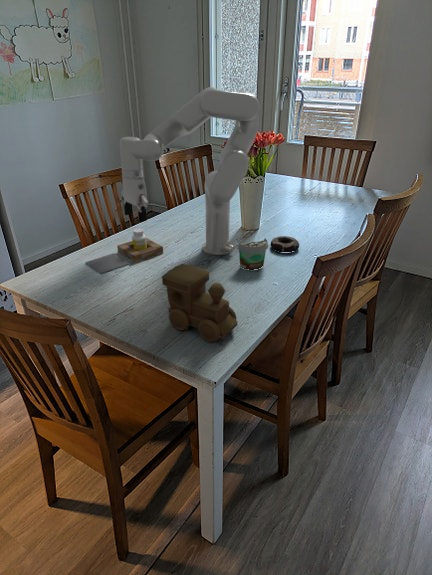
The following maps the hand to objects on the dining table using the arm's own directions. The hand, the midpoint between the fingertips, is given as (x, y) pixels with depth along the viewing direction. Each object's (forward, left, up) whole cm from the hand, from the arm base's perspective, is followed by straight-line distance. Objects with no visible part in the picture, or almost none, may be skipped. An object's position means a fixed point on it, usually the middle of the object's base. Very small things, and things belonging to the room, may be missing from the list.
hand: (135, 217), depth 159 cm
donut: (-36, -47, -15) cm, 61 cm away
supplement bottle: (0, -1, -15) cm, 15 cm away
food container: (-40, -25, -15) cm, 50 cm away
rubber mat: (0, +14, -15) cm, 21 cm away
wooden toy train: (-56, +15, -15) cm, 60 cm away
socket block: (0, -1, -15) cm, 15 cm away
